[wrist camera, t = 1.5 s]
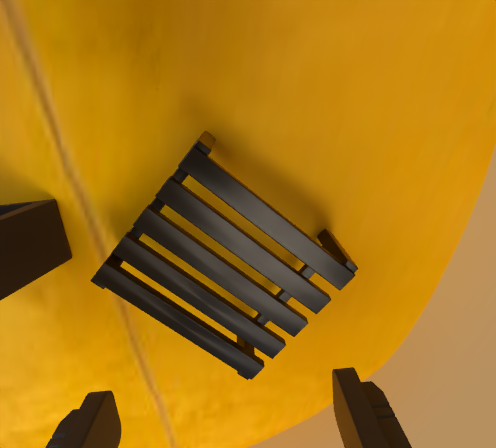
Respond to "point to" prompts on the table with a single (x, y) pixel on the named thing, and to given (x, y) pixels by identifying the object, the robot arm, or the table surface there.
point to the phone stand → (30, 243)
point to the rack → (223, 265)
